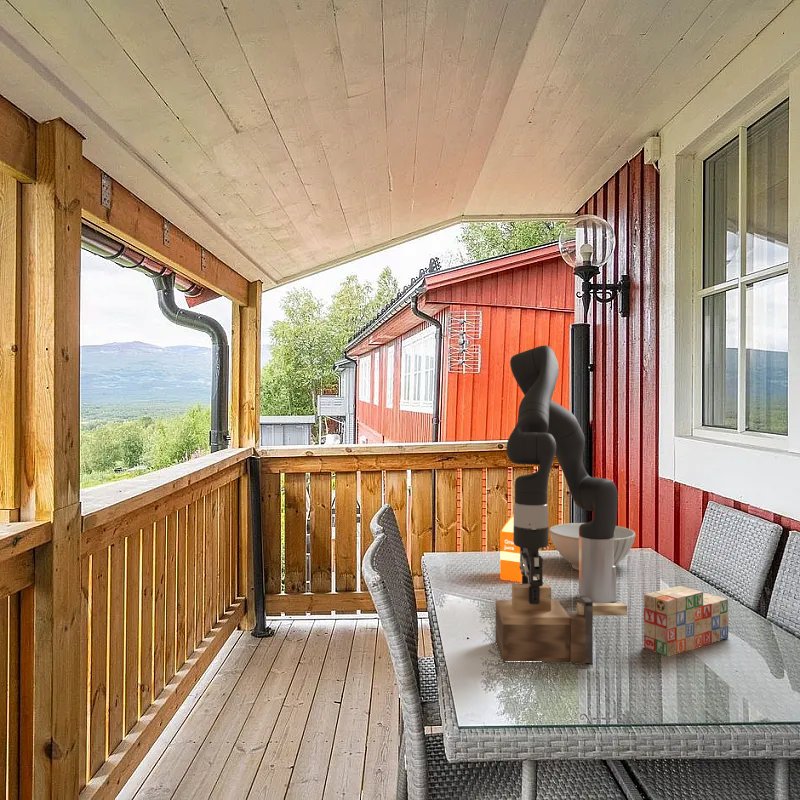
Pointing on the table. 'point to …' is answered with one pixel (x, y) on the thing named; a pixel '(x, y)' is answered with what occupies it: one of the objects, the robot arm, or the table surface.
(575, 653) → the brown wooden box
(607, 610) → the light wooden plank
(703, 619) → the stack of blocks
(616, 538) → the decorative bowl
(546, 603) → the lid
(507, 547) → the orange juice
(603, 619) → the table surface
